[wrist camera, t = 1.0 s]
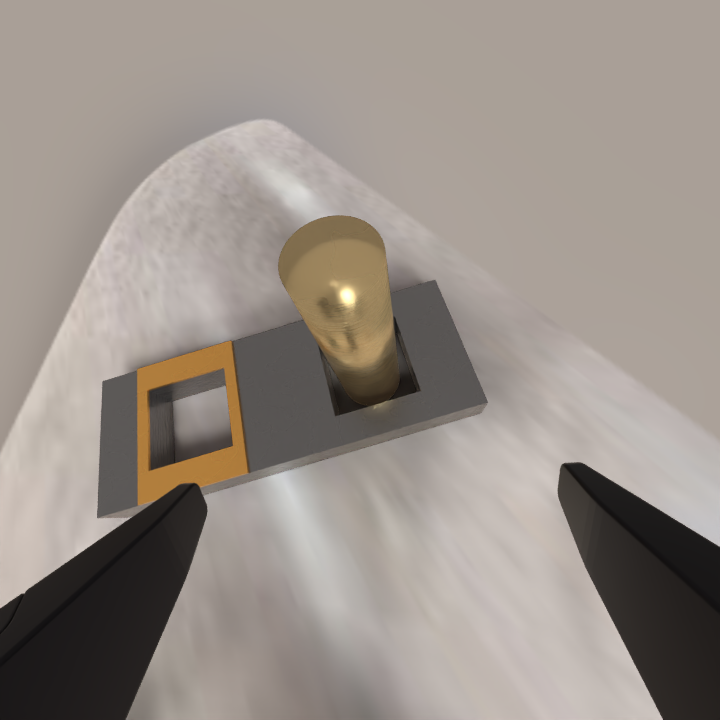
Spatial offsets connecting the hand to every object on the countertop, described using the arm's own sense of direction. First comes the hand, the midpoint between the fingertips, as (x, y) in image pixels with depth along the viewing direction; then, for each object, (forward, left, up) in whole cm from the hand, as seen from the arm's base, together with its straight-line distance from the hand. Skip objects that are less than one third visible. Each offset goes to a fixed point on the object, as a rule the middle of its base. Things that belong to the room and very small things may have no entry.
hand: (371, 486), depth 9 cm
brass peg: (+5, +6, -14) cm, 16 cm away
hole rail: (0, +10, -14) cm, 17 cm away
